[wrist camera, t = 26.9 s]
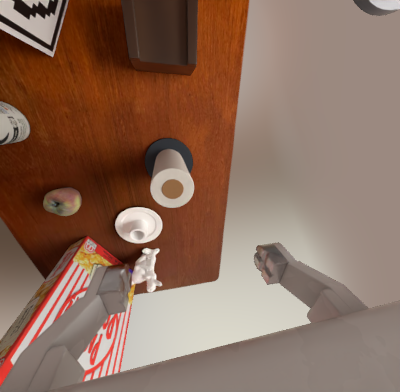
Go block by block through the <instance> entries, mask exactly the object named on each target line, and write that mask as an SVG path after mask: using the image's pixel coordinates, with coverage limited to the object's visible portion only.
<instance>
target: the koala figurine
mask: <svg viewBox="0 0 400 392" xmlns="http://www.w3.org/2000/svg"><path fill="white" fill-rule="evenodd" d="M142 252H143V254H142V255H141V257H140V258H139V259H138V260H137V261H136V263H135V264H136V265H135V267H134V271H133V273H132V285H133V284H135V283H141V282H143V281H146V280H147V291H148V292H153V291H154V290H155V286H162V284H161V282H160V281H157V280H156V274H154V263H155V260H156V258H155V255H156V254H157V253H158V252H159V249H158V248H157V249H154V250H152V249H148V248H145V249H143V250H142Z"/></svg>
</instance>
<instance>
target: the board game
mask: <svg viewBox="0 0 400 392" xmlns="http://www.w3.org/2000/svg"><path fill="white" fill-rule="evenodd" d="M119 264H123V263H122V262H121V261H119V260H118V259H117V258H115V257H114V256H113V255H112V254H110V253H109V252H108V251H107V250H105V249H104V248H103V247H101V246H100V245H99V244H98V243H96V242H95V241H94V240H93V239H91V238H90V237H89V236H87V237H85V238H83V239H81V240H80V241H78V242H76V243H74V244H73V245H71V246H70V247H69V248H68V249H67V251H66V252H65V254H64V255H63V257H62V258H61V259H60V261H59V262H58V264H57V265H56V266H55V268H54V269H53V270H52V272H51V273H50V275H49V276H48V277H47V279H46V280H45V281H44V283H43V284H42V285H41V287H40V288H39V289H38V291H37V292H36V293H35V295H34V296H33V297H32V299H31V300H30V301H29V303H28V304H27V306H26V307H25V308H24V310H23V311H22V312H21V314H20V315H19V316H18V317H17V319H16V320H15V322H14V323H13V324H12V326H11V327H10V328H9V330H8V331H7V333H6V334H5V335H4V336H3V338H2V339H1V340H0V386H1V385H2V383H3V381H4V380H5V378H6V376H7V375H8V373H9V372H10V370H11V368H12V367H13V365H14V363H15V362H16V360H17V359H18V357H19V355H20V354H21V352H22V351H23V350H25V349H26V348H27V347H28V346H29V345H30V344H31V343H32V342H33V341H34V340H35V339H36V338H37V337H39V336H40V335H41V334H42V333H43V332H44V331H45V330H46V329H47V328H48V327H49V326H50V325H51V324H52V323H54V322H55V321H56V320H57V319H58V318H59V317H60V316H61V315H62V314H63V313H64V312H65V311H66V310H68V309H69V308H70V307H71V306H72V305H73V304H74V303H75V302H76V301H77V300H78V299H79V298H81V297H84V295H85V293H86V291H87V288H88V286H89V284H90V282H91V280H92V278H93V275H94V273H95V271H96V269H97V268H98V267H103V266H110V265H119ZM129 272H130V273H131V275H132V273H133V271H132V270H131V269H129ZM134 289H135V284H133V285H132V286H131V291H130V292H129V293H128V297H129V301H128V306H127V310H126V312H122V313H118V314H113V315H109V317H108V318H107V320H106V321H105V323H104V324H103V325H102V327H101V328H100V330H99V331H98V332H97V334H96V335H95V337H94V338H93V339H92V341H91V342H90V343H89V345H88V346H87V348H86V349H85V350H84V352H83V353H82V355H81V356H80V357H79V359H78V360H77V361H78V362H79V363H80V364H81V366H82V367H83V368H84V370H85V374H84V377H83V381H82V382H84V381H88V380H92V379H96V378H99V377H103V376H107V375H111V374H115V373H119V372H120V368H121V362H122V356H123V350H124V345H125V339H126V334H127V328H128V323H129V317H130V311H131V306H132V300H133V295H134Z"/></svg>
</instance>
